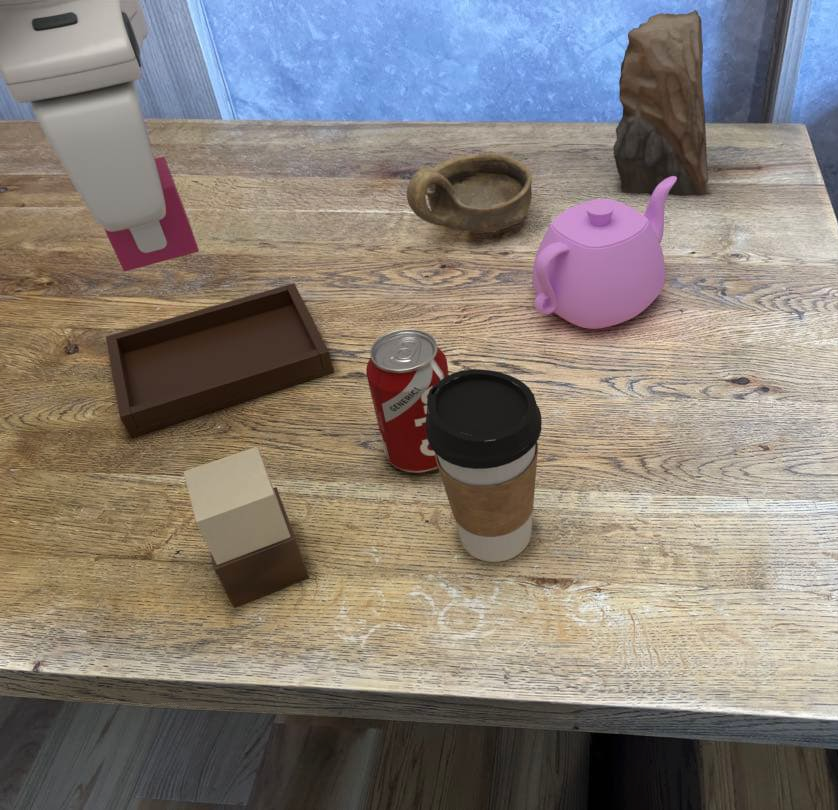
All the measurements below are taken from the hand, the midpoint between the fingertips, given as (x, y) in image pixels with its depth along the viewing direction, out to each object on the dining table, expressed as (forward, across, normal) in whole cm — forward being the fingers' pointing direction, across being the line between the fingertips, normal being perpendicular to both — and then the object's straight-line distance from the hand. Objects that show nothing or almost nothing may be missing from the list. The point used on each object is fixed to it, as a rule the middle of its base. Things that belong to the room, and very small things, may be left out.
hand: (148, 225), depth 57 cm
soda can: (+26, +5, +15) cm, 30 cm away
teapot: (+26, -9, +42) cm, 50 cm away
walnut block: (+25, +11, -1) cm, 28 cm away
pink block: (+2, 0, 0) cm, 2 cm away
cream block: (+20, +11, -1) cm, 23 cm away
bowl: (+26, -30, +34) cm, 53 cm away
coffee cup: (+26, +17, +17) cm, 35 cm away
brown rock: (+26, -29, +62) cm, 74 cm away
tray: (+26, -17, 0) cm, 31 cm away
